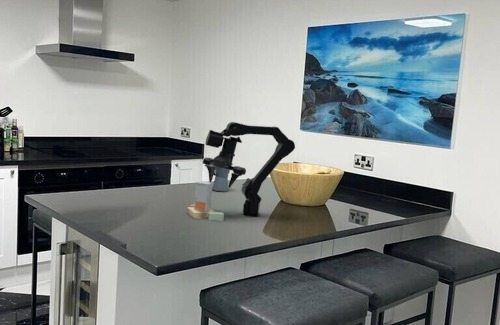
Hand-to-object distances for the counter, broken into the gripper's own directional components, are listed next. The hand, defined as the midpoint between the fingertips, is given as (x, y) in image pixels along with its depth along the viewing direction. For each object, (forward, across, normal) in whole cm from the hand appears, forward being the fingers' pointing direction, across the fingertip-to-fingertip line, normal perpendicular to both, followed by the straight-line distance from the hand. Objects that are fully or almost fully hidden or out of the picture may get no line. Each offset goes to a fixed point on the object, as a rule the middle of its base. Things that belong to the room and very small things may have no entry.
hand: (219, 185), depth 214 cm
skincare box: (+12, -2, -7) cm, 14 cm away
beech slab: (+14, -2, -7) cm, 15 cm away
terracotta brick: (+14, -8, -1) cm, 16 cm away
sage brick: (+13, +6, -9) cm, 17 cm away
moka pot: (+11, -20, +52) cm, 56 cm away
